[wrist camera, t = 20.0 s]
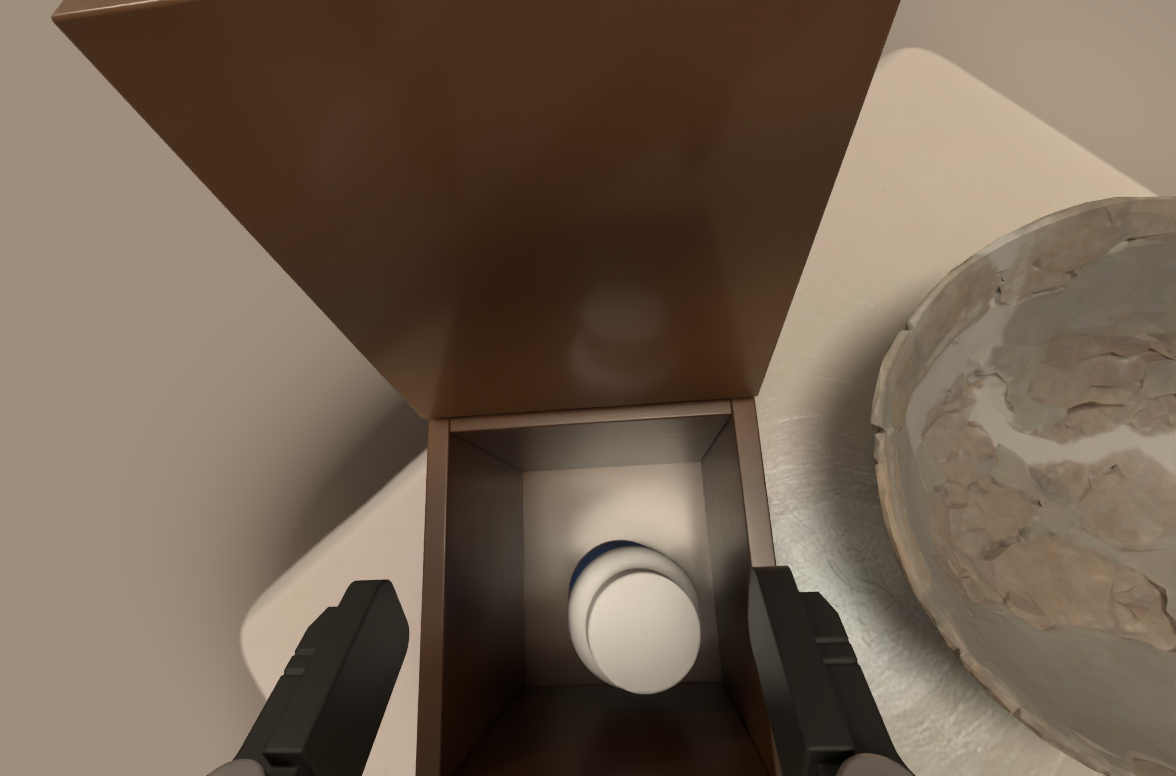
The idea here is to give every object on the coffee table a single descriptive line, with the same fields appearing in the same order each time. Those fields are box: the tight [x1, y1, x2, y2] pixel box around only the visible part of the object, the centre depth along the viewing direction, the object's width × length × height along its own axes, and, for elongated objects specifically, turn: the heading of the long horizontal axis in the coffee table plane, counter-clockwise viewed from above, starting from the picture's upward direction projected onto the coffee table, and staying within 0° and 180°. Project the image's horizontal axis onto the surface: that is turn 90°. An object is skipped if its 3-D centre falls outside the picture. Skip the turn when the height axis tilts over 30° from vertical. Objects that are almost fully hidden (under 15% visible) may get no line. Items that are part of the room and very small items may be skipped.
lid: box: [51, 0, 900, 419], centre depth 13 cm, size 13×12×1 cm
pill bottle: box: [568, 540, 702, 694], centre depth 24 cm, size 6×5×10 cm
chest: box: [416, 396, 783, 776], centre depth 24 cm, size 13×12×13 cm
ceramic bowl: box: [870, 197, 1176, 776], centre depth 24 cm, size 22×23×10 cm
